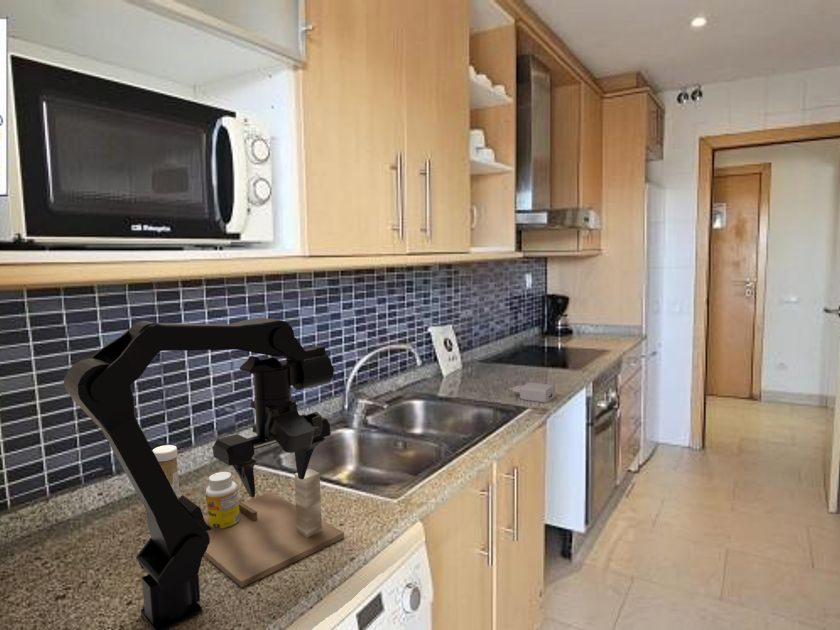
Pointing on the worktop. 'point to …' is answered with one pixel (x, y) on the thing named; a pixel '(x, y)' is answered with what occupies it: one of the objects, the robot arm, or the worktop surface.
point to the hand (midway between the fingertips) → (277, 487)
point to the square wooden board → (272, 533)
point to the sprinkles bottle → (169, 464)
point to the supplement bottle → (222, 501)
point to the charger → (535, 392)
